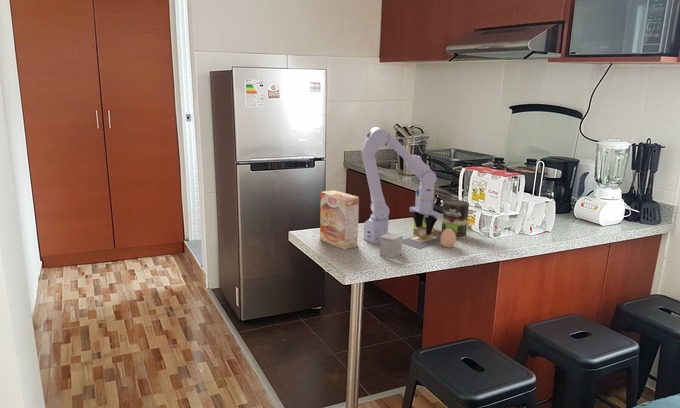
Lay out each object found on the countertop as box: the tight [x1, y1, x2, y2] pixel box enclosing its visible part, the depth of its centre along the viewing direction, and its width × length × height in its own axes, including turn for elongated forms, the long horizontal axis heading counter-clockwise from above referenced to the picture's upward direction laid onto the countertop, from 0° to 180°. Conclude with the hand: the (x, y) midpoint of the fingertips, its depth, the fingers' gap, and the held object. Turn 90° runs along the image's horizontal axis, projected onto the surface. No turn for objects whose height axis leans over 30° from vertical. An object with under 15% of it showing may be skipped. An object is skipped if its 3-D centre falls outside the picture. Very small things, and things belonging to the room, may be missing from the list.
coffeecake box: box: [319, 189, 360, 250], centre depth 198 cm, size 15×7×20 cm, turn 40°
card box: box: [412, 225, 436, 238], centre depth 207 cm, size 4×8×3 cm, turn 131°
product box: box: [379, 232, 404, 260], centre depth 188 cm, size 6×6×7 cm
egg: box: [439, 228, 457, 248], centre depth 197 cm, size 6×6×8 cm
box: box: [413, 189, 429, 229], centre depth 221 cm, size 10×4×17 cm, turn 154°
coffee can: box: [440, 199, 470, 239], centre depth 213 cm, size 10×10×14 cm
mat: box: [402, 235, 441, 250], centre depth 204 cm, size 18×12×1 cm, turn 131°
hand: (423, 232), depth 207 cm, fingers closed on card box, 4 cm apart
